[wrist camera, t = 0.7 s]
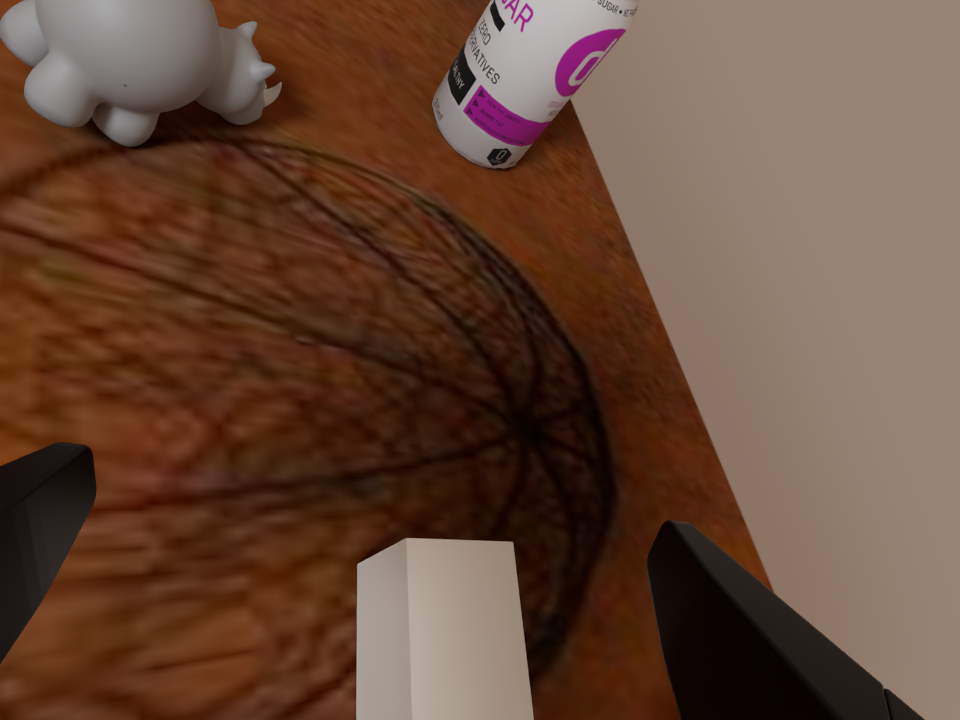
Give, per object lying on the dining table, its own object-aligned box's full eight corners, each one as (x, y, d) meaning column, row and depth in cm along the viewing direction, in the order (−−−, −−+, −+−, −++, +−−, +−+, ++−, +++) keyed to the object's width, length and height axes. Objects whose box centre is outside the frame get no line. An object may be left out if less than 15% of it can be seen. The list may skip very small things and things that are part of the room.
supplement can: (532, 165, 49) (668, 6, 38) (471, 182, 44) (610, 2, 33) (475, 90, 50) (593, -87, 39) (408, 98, 44) (523, -107, 33)
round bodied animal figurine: (246, 199, 35) (342, 107, 32) (9, 130, 25) (111, -20, 21) (210, 105, 37) (297, 7, 33) (-26, 3, 26) (62, -156, 23)
